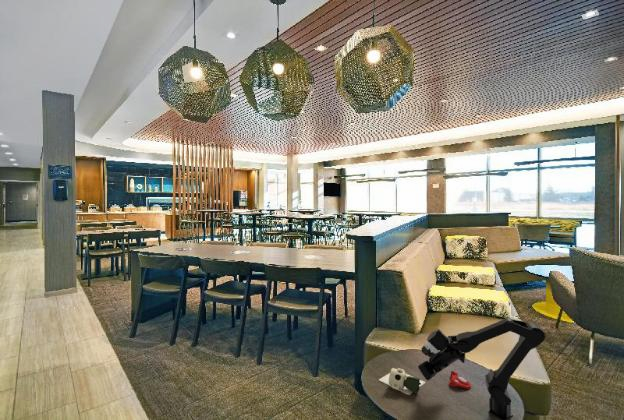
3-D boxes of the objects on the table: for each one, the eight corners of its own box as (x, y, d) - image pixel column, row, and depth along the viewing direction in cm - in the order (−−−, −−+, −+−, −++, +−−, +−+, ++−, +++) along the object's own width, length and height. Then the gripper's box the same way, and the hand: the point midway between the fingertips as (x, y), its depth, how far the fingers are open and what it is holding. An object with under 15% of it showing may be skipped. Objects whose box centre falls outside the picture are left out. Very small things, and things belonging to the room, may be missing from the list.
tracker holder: (476, 384, 146) (462, 385, 141) (472, 393, 146) (459, 394, 142) (454, 366, 157) (440, 367, 152) (451, 375, 157) (437, 375, 152)
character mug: (417, 391, 135) (387, 380, 142) (417, 402, 138) (387, 391, 145) (423, 371, 144) (394, 361, 150) (422, 382, 147) (394, 372, 153)
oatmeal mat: (425, 383, 149) (425, 382, 149) (408, 395, 140) (408, 394, 140) (395, 370, 161) (395, 369, 161) (378, 380, 152) (378, 379, 152)
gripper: (444, 333, 145) (421, 349, 153) (422, 345, 132) (399, 362, 141) (462, 356, 139) (437, 372, 147) (440, 372, 126) (415, 388, 135)
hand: (422, 373), depth 143 cm, fingers closed
